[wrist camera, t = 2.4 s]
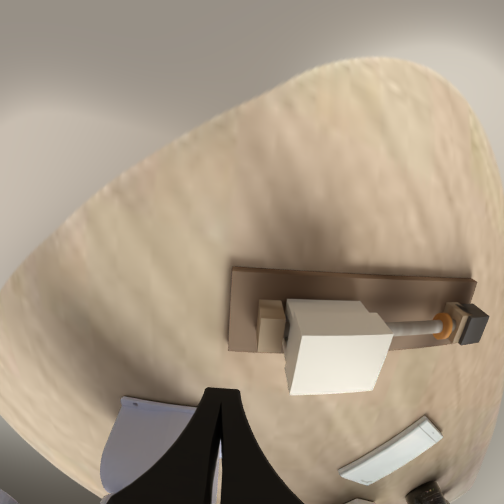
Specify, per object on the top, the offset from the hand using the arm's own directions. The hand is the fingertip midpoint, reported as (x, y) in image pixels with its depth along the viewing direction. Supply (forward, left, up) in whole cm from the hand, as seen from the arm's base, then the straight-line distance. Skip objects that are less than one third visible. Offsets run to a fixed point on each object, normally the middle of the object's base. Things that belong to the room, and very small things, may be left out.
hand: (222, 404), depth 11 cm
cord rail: (+10, 0, -9) cm, 13 cm away
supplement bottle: (+37, -41, -9) cm, 56 cm away
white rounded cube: (+6, 0, -8) cm, 10 cm away
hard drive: (+21, -21, -10) cm, 31 cm away
